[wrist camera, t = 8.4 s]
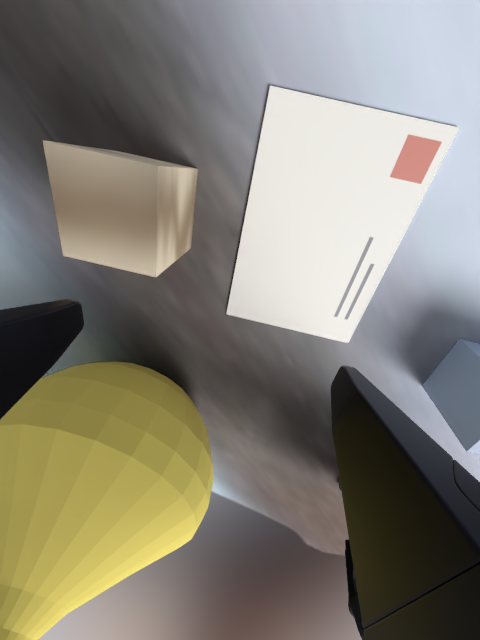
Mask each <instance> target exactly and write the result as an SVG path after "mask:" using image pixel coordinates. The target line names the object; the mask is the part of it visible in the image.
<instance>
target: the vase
mask: <svg viewBox="0 0 480 640" xmlns="http://www.w3.org/2000/svg"><path fill="white" fill-rule="evenodd" d="M212 484H213V466H212V458H211V451H210V445H209V439H208V432H207V429H206V427H205V424H204V422H203V420H202V418H201V416H200V414H199V412H198V410H197V408H196V406H195V405H194V403H193V401H192V400H191V399H190V397H189V396H188V395H187V394H186V393H185V391H184V390H183V389H182V388H181V387H179V386H178V385H177V384H176V383H174V382H173V381H172V380H171V379H169V378H168V377H166V376H164V375H162V374H160V373H158V372H156V371H154V370H152V369H150V368H147V367H144V366H140V365H137V364H134V363H126V362H116V361H113V362H95V363H88V364H81V365H75V366H72V367H69V368H66V369H64V370H61V371H58V372H56V373H53V374H50V375H47V376H45V377H42V378H40V379H39V380H38V381H37V383H36V384H35V385H34V386H33V387H32V388H31V389H30V390H29V391H28V392H27V393H26V394H25V395H24V396H23V397H22V398H21V399H20V400H19V401H18V402H17V403H16V404H15V405H14V406H13V407H12V408H11V409H10V410H9V411H8V412H7V413H6V414H5V415H4V416H3V417H2V418H1V419H0V640H38V639H39V638H40V637H41V636H42V635H43V634H44V633H46V632H47V631H48V630H49V629H50V628H51V627H52V626H53V625H55V624H56V623H57V622H58V621H59V620H60V619H61V618H63V617H64V616H65V615H66V614H68V613H69V612H71V611H72V610H74V609H76V608H77V607H79V606H81V605H82V604H84V603H86V602H87V601H89V600H90V599H92V598H94V597H95V596H97V595H98V594H100V593H102V592H103V591H105V590H107V589H108V588H110V587H112V586H113V585H115V584H116V583H118V582H119V581H121V580H123V579H124V578H126V577H128V576H129V575H131V574H133V573H135V572H137V571H138V570H140V569H142V568H144V567H145V566H147V565H149V564H151V563H152V562H154V561H156V560H158V559H160V558H161V557H163V556H165V555H167V554H168V553H170V552H172V551H174V550H176V549H178V548H179V547H181V546H182V545H184V544H185V543H187V542H188V541H189V540H191V539H192V537H193V535H194V534H195V532H196V530H197V528H198V526H199V525H200V523H201V521H202V519H203V517H204V515H205V513H206V510H207V509H208V505H209V500H210V495H211V490H212Z"/></svg>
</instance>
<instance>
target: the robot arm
mask: <svg viewBox="0 0 480 640" xmlns="http://www.w3.org/2000/svg"><path fill="white" fill-rule="evenodd" d="M83 326H84V320H83V313H82V307H81V304H80V303H79V302H76V301H72V300H68V299H65V300H59V301H53V302H47V303H40V304H34V305H28V306H22V307H16V308H9V309H3V310H0V419H1V418H2V417H3V416H4V415H5V414H6V413H7V412H8V411H9V410H10V409H11V408H12V407H13V406H14V405H15V404H16V403H17V402H18V401H19V400H20V399H21V398H22V397H23V396H24V395H25V394H26V393H27V392H28V391H29V390H30V389H31V388H32V387H33V386H34V385H35V384H36V383H37V381H38V380H39V379H40V378H41V377H42V376H43V375H44V374H45V373H46V372H47V371H48V370H49V369H50V368H51V367H52V366H53V365H54V364H55V363H56V361H57V360H58V359H59V358H60V357H61V355H62V354H63V353H64V352H65V350H66V349H67V348H68V347H69V345H70V344H71V343H72V342H73V340H74V339H75V338H76V337H77V335H78V334H79V333H80V331H81V330H82V328H83ZM331 409H332V431H333V439H334V446H335V452H336V458H337V465H338V471H339V478H340V483H339V488H340V489H341V490H342V497H343V503H344V509H345V516H346V522H347V528H348V535H349V540H345V543H346V550H345V556H346V568H347V580H348V592H349V601H348V606H349V611H350V613H351V615H352V616H353V617H354V618H355V621H356V624H357V628H358V630H359V633H360V636H361V638H362V640H480V482H479V481H478V480H477V479H475V478H474V477H473V476H472V475H471V474H470V473H469V472H468V471H467V470H466V469H464V468H463V467H462V466H461V465H460V464H459V463H458V462H457V461H456V460H453V458H452V457H451V456H450V455H449V454H448V453H447V452H446V451H445V450H444V449H443V448H442V447H440V446H439V445H438V444H437V443H436V442H435V441H434V440H433V439H432V438H431V437H430V436H429V435H427V434H426V433H425V432H424V431H423V430H422V429H421V428H420V427H419V426H418V425H417V424H415V423H414V422H413V421H412V420H411V419H410V418H409V417H408V416H407V415H406V414H405V413H403V412H402V411H401V410H400V409H399V408H398V407H397V406H396V405H395V404H394V403H393V402H391V401H390V400H389V399H388V398H387V397H386V396H385V395H384V394H383V393H382V392H381V391H379V390H378V389H377V388H376V387H375V386H374V385H373V384H372V383H371V382H370V381H369V380H368V379H366V378H365V377H364V376H363V375H362V374H361V373H360V372H359V371H358V370H357V369H355V368H353V367H349V366H344V365H343V366H341V367H340V369H339V370H338V372H337V374H336V376H335V378H334V380H333V382H332V385H331Z"/></svg>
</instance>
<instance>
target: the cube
mask: <svg viewBox="0 0 480 640" xmlns="http://www.w3.org/2000/svg"><path fill="white" fill-rule="evenodd" d="M422 387H423V388H424V389H425V391H426V392H427V394H428V395H429V397H430V398H431V400H432V401H433V403H434V404H435V406H436V407H437V409H438V410H439V412H440V413H441V415H442V416H443V418H444V419H445V420H446V422H447V423H448V425H449V426H450V428H451V429H452V431H453V432H454V434H455V435H456V437H457V438H458V440H459V441H460V443H461V444H462V446H463V447H464V448H465V450H466V451H467V452H470V453H474V454H478V455H480V343H476V342H472V341H467V340H463V339H459V340H458V341H457V342H456V344H455V345H454V346H453V347H452V349H451V350H450V351H449V352H448V354H447V355H446V356H445V357H444V359H443V360H442V361H441V362H440V364H439V365H438V366H437V367H436V369H435V370H434V371H433V372H432V374H431V375H430V376H429V377H428V379H427V380H426V381H425V382H424V384H423V385H422Z"/></svg>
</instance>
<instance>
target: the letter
mask: <svg viewBox="0 0 480 640" xmlns="http://www.w3.org/2000/svg"><path fill="white" fill-rule="evenodd" d="M458 130H459V127H455V126H450V125H445V124H441V123H436V122H432V121H427V120H423V119H418V118H414V117H409V116H405V115H400V114H396V113H391V112H387V111H382V110H378V109H373V108H369V107H364V106H360V105H355V104H351V103H346V102H342V101H337V100H333V99H328V98H324V97H319V96H315V95H310V94H306V93H301V92H297V91H292V90H288V89H283V88H279V87H274V86H270V88H269V94H268V99H267V104H266V109H265V115H264V120H263V125H262V130H261V135H260V141H259V146H258V151H257V156H256V162H255V167H254V172H253V177H252V182H251V188H250V193H249V198H248V203H247V208H246V214H245V219H244V224H243V229H242V235H241V240H240V245H239V250H238V255H237V261H236V266H235V271H234V276H233V282H232V287H231V292H230V297H229V302H228V308H227V313H226V314H227V315H232V316H236V317H240V318H244V319H249V320H253V321H257V322H261V323H265V324H270V325H274V326H278V327H282V328H286V329H291V330H295V331H299V332H303V333H308V334H312V335H316V336H320V337H324V338H329V339H333V340H337V341H341V342H345V343H348V342H349V340H350V338H351V336H352V334H353V333H354V331H355V329H356V327H357V325H358V323H359V321H360V319H361V317H362V315H363V313H364V311H365V309H366V307H367V306H368V304H369V302H370V300H371V298H372V296H373V294H374V292H375V290H376V288H377V286H378V284H379V282H380V280H381V279H382V277H383V275H384V273H385V271H386V269H387V267H388V265H389V263H390V261H391V259H392V257H393V255H394V253H395V252H396V250H397V248H398V246H399V244H400V242H401V240H402V238H403V236H404V234H405V232H406V230H407V228H408V226H409V225H410V223H411V221H412V219H413V217H414V215H415V213H416V211H417V209H418V207H419V205H420V203H421V201H422V199H423V198H424V196H425V194H426V192H427V190H428V188H429V186H430V184H431V182H432V180H433V178H434V176H435V174H436V172H437V171H438V169H439V167H440V165H441V163H442V161H443V159H444V157H445V155H446V153H447V151H448V149H449V147H450V145H451V144H452V142H453V140H454V138H455V136H456V134H457V132H458Z"/></svg>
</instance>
